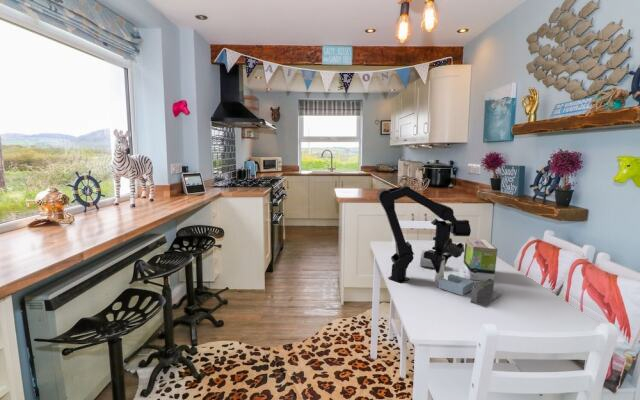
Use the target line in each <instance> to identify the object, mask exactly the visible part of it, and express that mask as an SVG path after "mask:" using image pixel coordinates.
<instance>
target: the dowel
mask: <svg viewBox="0 0 640 400" xmlns="http://www.w3.org/2000/svg"><path fill="white" fill-rule="evenodd" d="M442 258H444V260H443V261H442V262H441V266H440V271H439V273H436V271H435V270H434V271H435V273H434V280H435V281H437V282H439V280H440V279H445V278H444V276H445V268H444V266H445V267H446V265H445V257H444V256H443V257H442Z"/></svg>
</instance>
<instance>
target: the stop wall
mask: <svg viewBox="0 0 640 400" xmlns="http://www.w3.org/2000/svg"><path fill="white" fill-rule="evenodd" d="M494 287H495V279H494V280H492V279H488V280H486V281H482V282H481V283H480V284H478V285H477V286H475V287H473V289H472V290H471V297H470V303H471V304H474V305H477V306H480V307H483V308H486V307H487V306H489V305H490V304H491V303H493V302H494V301H496V300H497V299H498V298H500V296H502V295H503V294H502V292H499V291H495V290H494Z"/></svg>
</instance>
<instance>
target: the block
mask: <svg viewBox="0 0 640 400" xmlns="http://www.w3.org/2000/svg"><path fill="white" fill-rule="evenodd" d="M474 281H475V280H472V279H470V278H465V277H462V276H459V275H455V274H452V273H450V274H449V275H447V279H445V278H444V279H440V280H439V281H438V288H439V289H441V290H445V291H447V292H451V293H454V294H457V295H459V296H463V295H465V294H467V293H469V292H470V291H472V289H473V288H474V286H475V285H474V284H475V283H474Z"/></svg>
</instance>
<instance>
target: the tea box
mask: <svg viewBox="0 0 640 400" xmlns="http://www.w3.org/2000/svg"><path fill="white" fill-rule="evenodd" d="M463 253H464V254H463V264H462V269H463V270H464V273H466V275H467V277H468V279H469V280H473V281H480V282H481V281H482V282H485V281H486V280H488V279H492V280H494V281H495V274H496V266H497V265H496V264H497V256H498V248H497V246H496V245H494V244H493V243H492V242H491V241H489V239H479V238H478V239H477V238H465V244H464V252H463Z"/></svg>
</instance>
